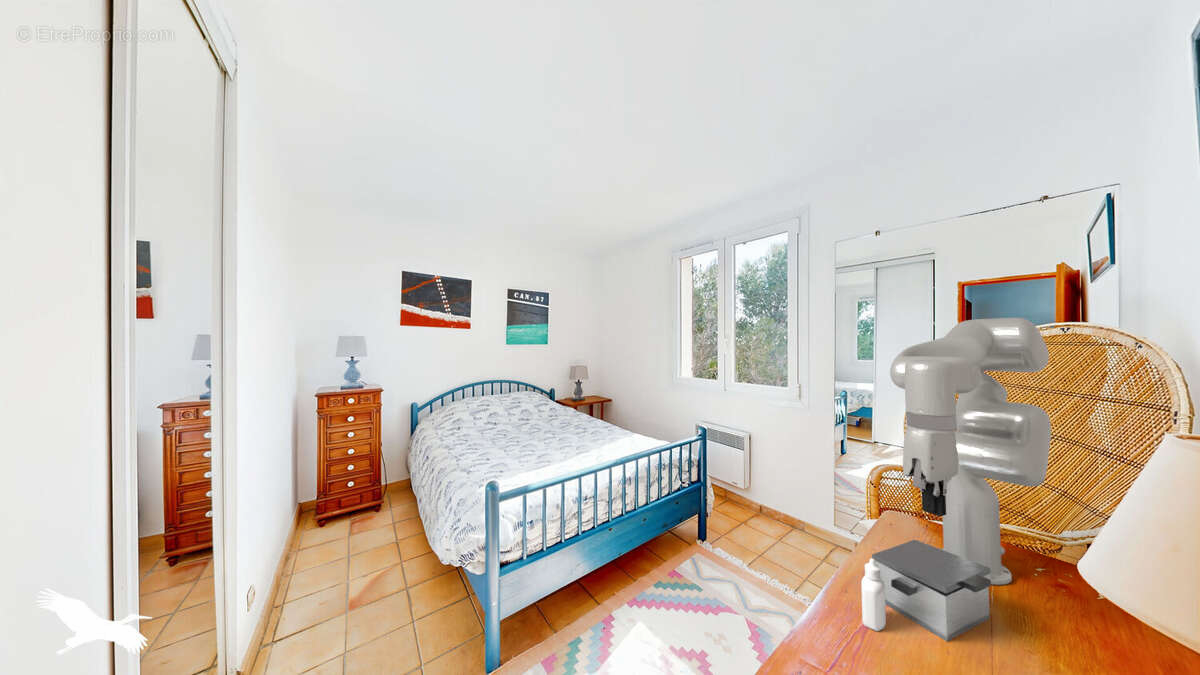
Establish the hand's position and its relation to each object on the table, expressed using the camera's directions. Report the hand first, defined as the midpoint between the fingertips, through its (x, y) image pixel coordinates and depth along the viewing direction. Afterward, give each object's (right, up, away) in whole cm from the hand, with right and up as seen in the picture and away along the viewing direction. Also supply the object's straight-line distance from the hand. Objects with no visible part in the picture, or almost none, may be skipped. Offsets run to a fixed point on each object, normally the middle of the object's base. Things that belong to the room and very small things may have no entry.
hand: (934, 512), depth 74 cm
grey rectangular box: (0, -19, 0) cm, 19 cm away
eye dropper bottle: (-14, -20, -3) cm, 25 cm away
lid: (0, -11, 0) cm, 11 cm away
